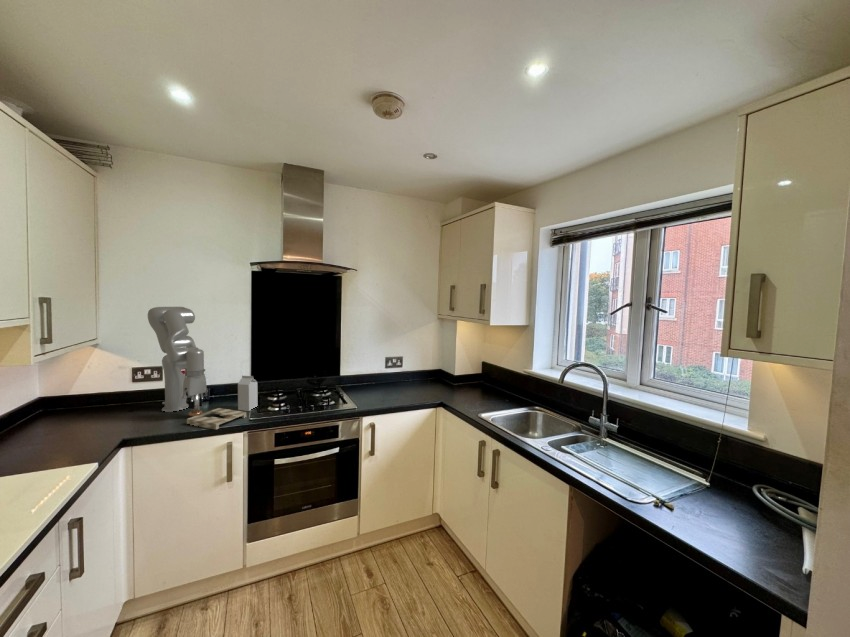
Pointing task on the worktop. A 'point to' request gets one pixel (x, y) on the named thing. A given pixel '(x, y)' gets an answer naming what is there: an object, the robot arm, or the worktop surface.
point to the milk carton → (247, 393)
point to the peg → (196, 406)
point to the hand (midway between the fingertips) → (195, 406)
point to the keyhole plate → (215, 418)
